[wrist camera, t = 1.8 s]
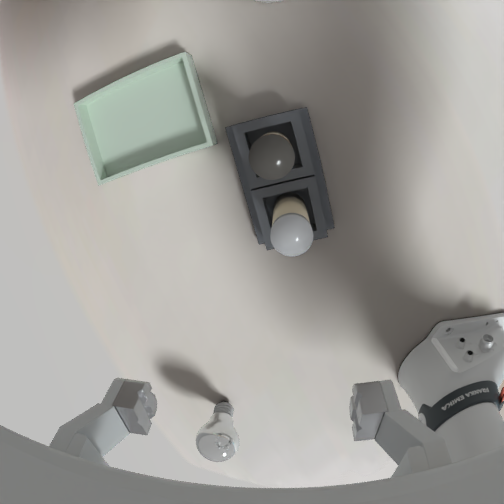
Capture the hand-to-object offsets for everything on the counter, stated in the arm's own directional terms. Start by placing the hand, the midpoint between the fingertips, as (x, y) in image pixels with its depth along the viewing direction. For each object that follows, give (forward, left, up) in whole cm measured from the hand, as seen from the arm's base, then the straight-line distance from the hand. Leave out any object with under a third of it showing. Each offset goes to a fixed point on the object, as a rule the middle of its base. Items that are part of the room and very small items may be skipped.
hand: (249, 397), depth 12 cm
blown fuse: (-2, -6, -27) cm, 27 cm away
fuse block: (-2, -3, -28) cm, 28 cm away
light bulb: (+16, +32, -28) cm, 46 cm away
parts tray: (+12, -14, -28) cm, 33 cm away
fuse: (-2, +1, -27) cm, 27 cm away
